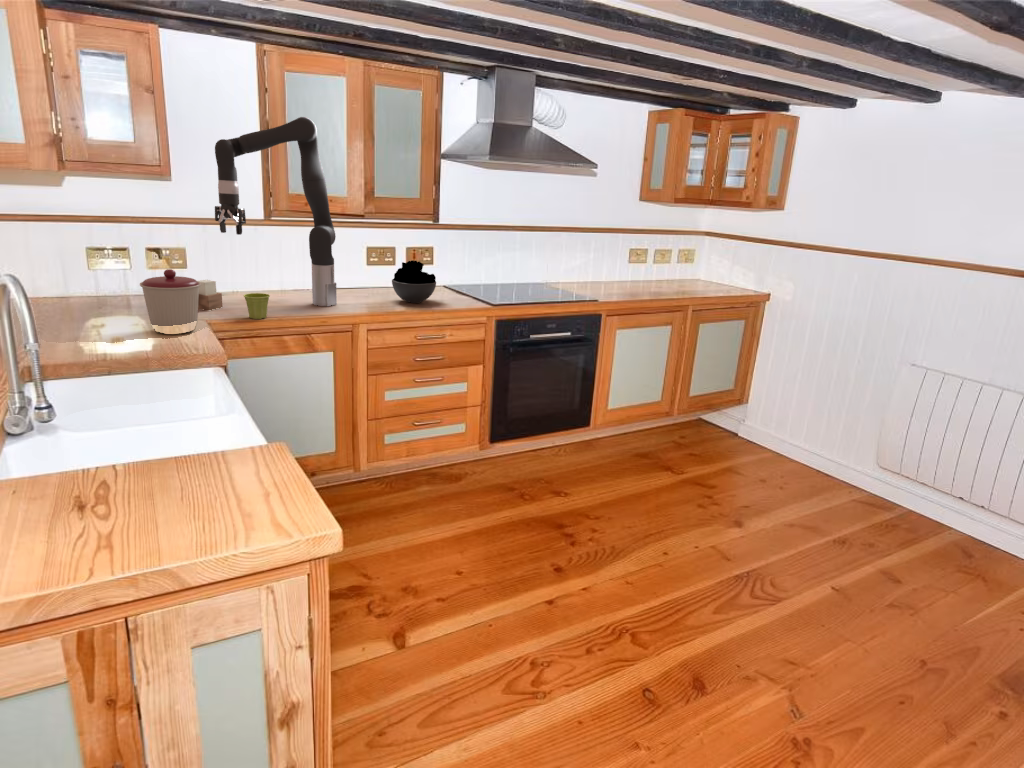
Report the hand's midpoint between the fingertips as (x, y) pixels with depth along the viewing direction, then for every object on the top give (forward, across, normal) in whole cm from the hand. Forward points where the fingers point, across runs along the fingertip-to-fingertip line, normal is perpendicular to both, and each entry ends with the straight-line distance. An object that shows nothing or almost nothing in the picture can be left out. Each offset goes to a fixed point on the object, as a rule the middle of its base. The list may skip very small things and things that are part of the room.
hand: (231, 233), depth 266 cm
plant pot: (+28, -29, +17) cm, 44 cm away
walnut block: (+28, -3, +17) cm, 33 cm away
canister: (+28, -25, +50) cm, 63 cm away
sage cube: (+22, -3, +17) cm, 28 cm away
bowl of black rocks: (+28, -56, -51) cm, 81 cm away
